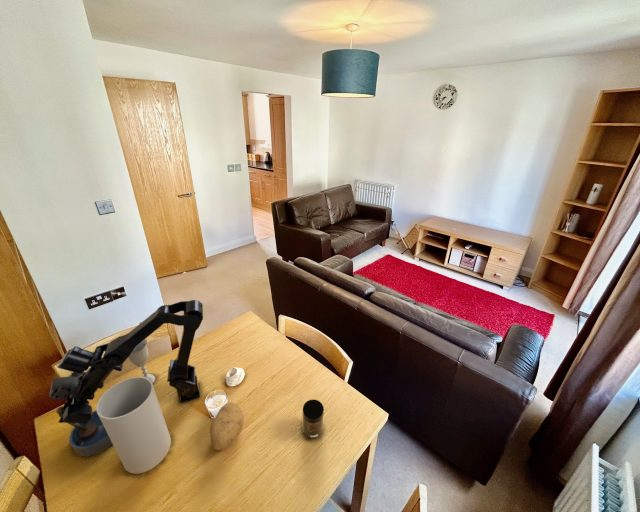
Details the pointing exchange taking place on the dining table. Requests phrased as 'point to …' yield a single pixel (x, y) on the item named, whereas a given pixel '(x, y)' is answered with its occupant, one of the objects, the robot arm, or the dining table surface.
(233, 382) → the whipped cream
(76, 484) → the dining table surface
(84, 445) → the bowl
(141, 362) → the chalice
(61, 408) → the ladle
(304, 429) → the supplement container
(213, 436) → the potato
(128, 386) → the cylinder vase
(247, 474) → the dining table surface
